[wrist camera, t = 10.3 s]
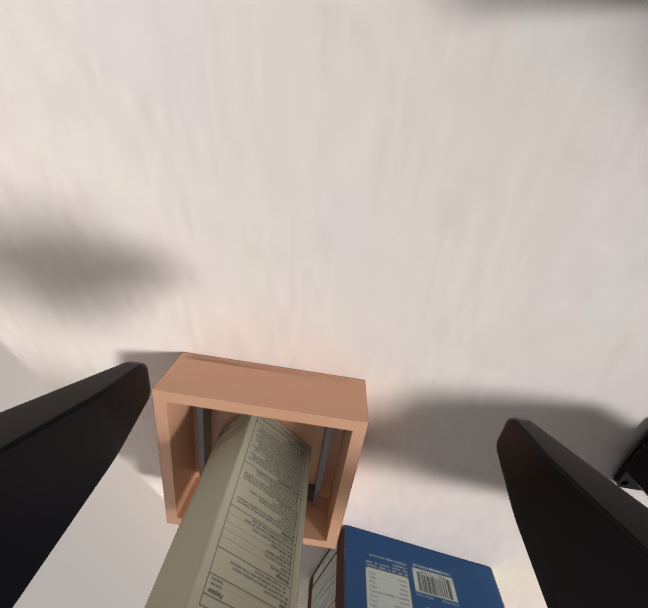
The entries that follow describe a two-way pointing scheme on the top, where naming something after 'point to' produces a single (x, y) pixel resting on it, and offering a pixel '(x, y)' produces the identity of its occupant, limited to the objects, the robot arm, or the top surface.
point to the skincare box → (241, 523)
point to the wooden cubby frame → (265, 401)
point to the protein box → (397, 576)
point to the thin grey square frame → (206, 449)
